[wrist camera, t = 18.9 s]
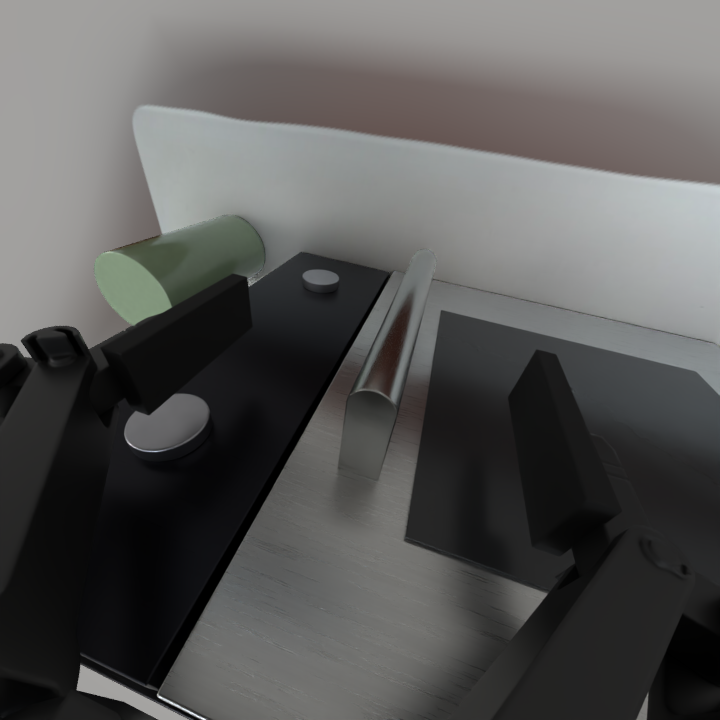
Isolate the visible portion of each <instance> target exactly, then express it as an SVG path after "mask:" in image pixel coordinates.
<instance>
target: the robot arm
mask: <svg viewBox="0 0 720 720" xmlns="http://www.w3.org/2000/svg"><path fill="white" fill-rule="evenodd" d="M252 327H253V324H252V316H251V307H250V298H249V289H248V280H247V277H245V276H241V275H237V274H233V273H232V274H231V275H229V276H227V277H225V278H224V279H222V280H220V281H218V282H216V283H215V284H213V285H211V286H209V287H207V288H206V289H204V290H202V291H200V292H198V293H197V294H195V295H193V296H191V297H190V298H188V299H186V300H184V301H182V302H181V303H179V304H177V305H175V306H173V307H172V308H170V309H168V310H166V311H164V312H163V313H160V314H157V315H154V316H151V317H147V318H145V319H144V320H142V321H140V322H138V323H136V324H135V326H134V325H133V326H131V327H129V328H127V329H126V331H122V332H120V333H118V334H116V335H114V336H113V337H111V338H109V339H107V340H105V341H103V342H102V343H100V344H98V345H96V346H94V347H92V348H91V349H88V347H87V346H86V344H85V342H84V340H83V338H82V336H81V334H80V332H79V331H78V330H77V329H76V328H74V327H69V326H54V327H48V328H44V329H40V330H38V331H34V332H32V333H31V334H28V335H26V336H25V337H24V338H23V339H22V340H21V342H22V343H23V345H24V346H25V348H26V349H27V351H28V352H29V354H30V355H31V357H32V358H27V357H24V356H23V355H22V354H21V352H20V351H19V349H18V348H17V347H16V346H14V345H12V344H3V343H2V344H0V720H157V719H156V718H154V717H152V716H150V715H148V714H146V713H144V712H142V711H140V710H138V709H136V708H134V707H132V706H130V705H129V704H127V703H125V702H122V701H118V700H114V699H109V698H106V697H101V696H97V695H93V694H89V693H85V692H81V691H77V690H76V689H77V683H78V678H79V671H80V662H81V656H80V647H79V643H78V639H77V635H76V627H77V620H78V615H79V610H80V605H81V600H82V595H83V590H84V585H85V580H86V576H87V571H88V566H89V561H90V556H91V551H92V546H93V541H94V536H95V531H96V526H97V522H98V517H99V512H100V507H101V502H102V497H103V492H104V487H105V482H106V477H107V473H108V468H109V463H110V458H111V453H112V448H113V443H114V438H115V433H116V428H117V423H118V419H119V414H120V408H119V406H118V404H117V403H119V402H120V401H121V400H123V399H124V398H126V400H127V402H128V404H129V406H130V408H131V410H134V411H137V412H140V413H143V414H146V415H151V414H152V413H153V412H154V411H155V410H156V409H158V408H159V407H160V406H161V405H162V404H163V403H165V402H166V401H167V400H168V399H169V398H170V397H171V396H173V395H174V394H175V393H176V392H177V391H178V390H180V389H181V388H182V387H183V386H184V385H185V384H187V383H188V382H189V381H190V380H191V379H192V378H194V377H195V376H196V375H197V374H198V373H199V372H201V371H202V370H203V369H204V368H205V367H206V366H208V365H209V364H210V363H211V362H212V361H213V360H215V359H216V358H217V357H218V356H219V355H220V354H222V353H223V352H224V351H225V350H226V349H227V348H229V347H230V346H231V345H232V344H233V343H234V342H235V341H237V340H238V339H239V338H240V337H241V336H242V335H244V334H245V333H246V332H247V331H248V330H249V329H251V328H252ZM508 401H509V407H510V413H511V420H512V426H513V432H514V438H515V445H516V451H517V457H518V463H519V470H520V476H521V482H522V488H523V495H524V501H525V507H526V513H527V520H528V526H529V532H530V538H531V545H532V548H535V549H538V550H541V551H544V552H547V553H550V554H553V555H555V556H558V557H560V556H562V555H563V554H564V553H566V552H567V551H568V550H570V549H571V548H572V552H573V556H574V560H575V564H573V565H572V566H570V567H569V568H567V569H566V570H564V571H563V572H561V573H560V574H558V575H557V576H555V578H556V579H557V580H558V582H557V583H556V584H555V586H554V587H553V588H552V589H551V591H550V592H549V593H548V594H547V596H546V597H545V598H544V599H543V601H542V602H541V603H540V604H539V606H538V607H537V608H536V609H535V611H534V612H533V613H532V614H531V616H530V617H529V618H528V619H527V621H526V622H525V623H524V624H523V626H522V627H521V628H520V629H519V631H518V632H517V633H516V634H515V636H514V637H513V638H512V639H511V641H510V642H509V643H508V644H507V646H506V647H505V648H504V649H503V651H502V652H501V653H500V654H499V656H498V657H497V658H496V659H495V661H494V662H493V663H492V664H491V666H490V667H489V668H488V670H487V671H486V672H485V673H484V675H483V676H482V677H481V678H480V680H479V681H478V682H477V683H476V685H475V686H474V687H473V688H472V690H471V691H470V692H469V693H468V695H467V696H466V697H465V698H464V700H463V701H462V702H461V703H460V705H459V706H458V707H457V708H456V710H455V711H454V712H453V713H452V715H451V716H450V717H449V718H448V720H636V719H637V717H638V715H639V712H640V710H641V708H642V706H643V703H644V701H645V699H646V696H647V694H648V708H647V720H720V585H719V584H718V583H716V582H714V581H712V580H711V579H709V578H707V577H705V576H704V575H702V574H700V573H699V572H697V571H695V570H694V569H693V567H692V565H691V563H690V561H689V560H688V559H687V557H686V556H685V555H684V553H683V552H682V551H681V549H679V548H678V547H677V546H676V545H675V544H674V543H673V542H672V541H671V540H670V539H669V538H667V537H666V536H664V535H663V534H661V533H660V532H658V531H657V530H655V529H653V528H652V526H651V524H650V522H649V520H648V518H647V516H646V514H645V512H644V510H643V508H642V506H641V504H640V501H639V499H638V497H637V495H636V493H635V491H634V489H633V487H632V485H631V483H630V481H628V476H627V474H626V472H625V470H624V469H623V468H622V464H621V462H620V460H619V458H618V456H617V454H616V451H615V450H614V449H613V448H612V447H611V446H610V445H609V443H608V442H607V441H606V440H605V439H604V438H603V437H602V436H599V435H595V434H592V433H589V431H588V428H587V426H586V423H585V421H584V419H583V416H582V414H581V412H580V409H579V407H578V404H577V402H576V400H575V397H574V395H573V393H572V390H571V388H570V385H569V383H568V381H567V378H566V376H565V374H564V371H563V369H562V366H561V364H560V362H559V359H558V357H557V355H556V354H554V353H550V352H546V351H542V350H538V349H536V351H535V353H534V354H533V356H532V358H531V359H530V361H529V363H528V364H527V366H526V368H525V369H524V371H523V373H522V374H521V376H520V378H519V379H518V381H517V383H516V384H515V386H514V388H513V389H512V391H511V393H510V394H509V396H508Z"/></svg>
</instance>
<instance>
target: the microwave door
mask: <svg viewBox="0 0 720 720" xmlns="http://www.w3.org/2000/svg"><path fill="white" fill-rule="evenodd" d="M436 262H437V259H436V256H435V254H434V253H433V252H432V251H431V250H429V249H421V250H419V251H417V252H416V253H415V254H414V256H413V258H412V260H411V262H410V264H409V266H408V269H407V271H406V273H402V272H397V271H394V272H393V273H392V275H391V277H390V279H389V281H388V282H387V284H386V286H385V288H384V290H383V291H382V293H381V295H380V297H379V298H378V300H377V302H376V304H375V306H374V307H373V309H372V311H371V313H370V314H369V316H368V318H367V320H366V322H365V323H364V325H363V327H362V329H361V331H360V332H359V334H358V336H357V338H356V339H355V341H354V343H353V345H352V347H351V348H350V350H349V352H348V354H347V356H346V357H345V359H344V361H343V363H342V364H341V366H340V368H339V370H338V372H337V373H336V375H335V377H334V379H333V380H332V382H331V384H330V386H329V388H328V389H327V391H326V393H325V395H324V397H323V398H322V400H321V402H320V404H319V405H318V407H317V409H316V411H315V413H314V414H313V416H312V418H311V420H310V422H309V423H308V425H307V427H306V429H305V430H304V432H303V434H302V436H301V438H300V439H299V441H298V443H297V445H296V447H295V448H294V450H293V452H292V454H291V455H290V457H289V459H288V461H287V463H286V464H285V466H284V468H283V470H282V471H281V473H280V475H279V477H278V479H277V480H276V482H275V484H274V486H273V488H272V489H271V491H270V493H269V495H268V496H267V498H266V500H265V502H264V504H263V505H262V507H261V509H260V511H259V513H258V514H257V516H256V518H255V520H254V521H253V523H252V525H251V527H250V529H249V530H248V532H247V534H246V536H245V537H244V539H243V541H242V543H241V545H240V546H239V548H238V550H237V552H236V554H235V555H234V557H233V559H232V561H231V562H230V564H229V566H228V568H227V570H226V571H225V573H224V575H223V577H222V579H221V580H220V582H219V584H218V586H217V587H216V589H215V591H214V593H213V595H212V596H211V598H210V600H209V602H208V603H207V605H206V607H205V609H204V611H203V612H202V614H201V616H200V618H199V620H198V621H197V623H196V625H195V627H194V628H193V630H192V632H191V634H190V636H189V637H188V639H187V641H186V643H185V645H184V646H183V648H182V650H181V652H180V653H179V655H178V657H177V659H176V661H175V662H174V664H173V666H172V668H171V669H170V671H169V673H168V675H167V677H166V678H165V680H164V682H163V684H162V686H161V687H160V689H159V691H158V693H157V697H158V698H159V699H161V700H163V701H165V702H167V703H169V704H171V705H173V706H175V707H177V708H179V709H181V710H183V711H185V712H187V713H189V714H191V715H193V716H195V717H197V718H199V719H201V720H448V718H449V717H450V716H451V715H452V713H453V712H454V711H455V710H456V708H457V707H458V706H459V705H460V703H461V702H462V701H463V700H464V698H465V697H466V696H467V695H468V693H469V692H470V691H471V690H472V688H473V687H474V686H475V685H476V683H477V682H478V681H479V680H480V678H481V677H482V676H483V675H484V673H485V672H486V671H487V670H488V668H489V667H490V666H491V664H492V663H493V662H494V661H495V659H496V658H497V657H498V656H499V654H500V653H501V652H502V651H503V649H504V648H505V647H506V646H507V644H508V643H509V642H510V641H511V639H512V638H513V637H514V636H515V634H516V633H517V632H518V631H519V629H520V628H521V627H522V626H523V624H524V623H525V622H526V621H527V619H528V618H529V617H530V616H531V614H532V613H533V612H534V611H535V609H536V608H537V607H538V606H539V604H540V603H541V602H542V601H543V599H544V598H545V597H546V596H547V594H548V593H549V592H550V591H551V589H552V588H553V587H554V586H555V584H556V583H557V582H558V580H557V579H556V578H555V576H557V575H558V574H560V573H561V572H563V571H564V570H566V569H567V568H569V567H570V566H572V565H573V564H575V560H574V556H573V552H572V548H571V549H570V550H568V551H567V552H566V553H564V554H563V555H562V556H560V557H558V556H555V555H553V554H550V553H547V552H544V551H541V550H538V549H535V548H532V545H531V538H530V532H529V526H528V520H527V513H526V507H525V501H524V495H523V488H522V482H521V476H520V470H519V463H518V457H517V451H516V445H515V438H514V432H513V426H512V420H511V413H510V407H509V401H508V396H509V394H510V393H511V391H512V389H513V388H514V386H515V384H516V383H517V381H518V379H519V378H520V376H521V374H522V373H523V371H524V369H525V368H526V366H527V364H528V363H529V361H530V359H531V358H532V356H533V354H534V353H535V351H536V349H538V350H542V351H546V352H550V353H554V354H556V355H557V357H558V359H559V362H560V364H561V366H562V369H563V371H564V374H565V376H566V378H567V381H568V383H569V385H570V388H571V390H572V393H573V395H574V397H575V400H576V402H577V404H578V407H579V409H580V412H581V414H582V416H583V419H584V421H585V423H586V426H587V428H588V431H589V433H592V434H595V435H599V436H602V437H603V438H604V439H605V440H606V441H607V442H608V443H609V445H610V446H611V447H612V448H613V449H614V450H615V451H616V454H617V456H618V458H619V460H620V462H621V464H622V468H623V469H624V470H625V472H626V474H627V476H628V481H630V483H631V485H632V487H633V489H634V491H635V493H636V495H637V497H638V499H639V501H640V504H641V506H642V508H643V510H644V512H645V514H646V516H647V518H648V520H649V522H650V524H651V526H652V528H653V529H655V530H657V531H658V532H660V533H661V534H663V535H664V536H666V537H667V538H669V539H670V540H671V541H672V542H673V543H674V544H675V545H676V546H677V547H678V548H679V549H681V551H682V552H683V553H684V555H685V556H686V557H687V559H688V560H689V561H690V563H691V565H692V567H693V569H694V570H695V571H697V572H699V573H700V574H702V575H704V576H705V577H707V578H709V579H711V580H712V581H714V582H716V583H718V584H719V585H720V347H719V346H718V345H717V344H714V343H710V342H705V341H701V340H696V339H692V338H688V337H683V336H679V335H674V334H670V333H666V332H661V331H657V330H652V329H648V328H644V327H639V326H635V325H630V324H626V323H622V322H617V321H613V320H608V319H604V318H600V317H595V316H591V315H586V314H582V313H578V312H573V311H569V310H564V309H560V308H556V307H551V306H547V305H542V304H538V303H534V302H529V301H525V300H520V299H516V298H512V297H507V296H503V295H498V294H494V293H490V292H485V291H481V290H477V289H472V288H468V287H463V286H459V285H455V284H450V283H446V282H441V281H437V280H433V279H432V278H433V274H434V270H435V266H436ZM647 708H648V694H647V696H646V699H645V701H644V703H643V706H642V708H641V710H640V712H639V715H638V717H637V719H636V720H647Z"/></svg>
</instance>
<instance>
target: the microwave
mask: <svg viewBox="0 0 720 720" xmlns="http://www.w3.org/2000/svg"><path fill="white" fill-rule="evenodd" d="M388 278H389V272H386V271H382V270H377V269H373V268H369V267H364V266H360V265H355V264H351V263H347V262H342V261H338V260H334V259H329V258H325V257H320V256H316V255H312V254H307V253H303V252H300V253H299V254H297V255H296V256H294V257H293V258H291V259H290V260H288V261H287V262H286V263H284V264H283V265H281V266H280V267H278V268H277V269H275V270H274V271H272V272H271V273H269V274H268V275H266V276H265V277H263V278H262V279H260V280H259V281H257V282H256V283H254V284H253V285H251V286H250V287H249V288H248V289H249V298H250V307H251V316H252V324H253V327H252V328H251V329H249V330H248V331H247V332H246V333H245V334H244V335H242V336H241V337H240V338H239V339H238V340H237V341H235V342H234V343H233V344H232V345H231V346H230V347H229V348H227V349H226V350H225V351H224V352H223V353H222V354H220V355H219V356H218V357H217V358H216V359H215V360H213V361H212V362H211V363H210V364H209V365H208V366H206V367H205V368H204V369H203V370H202V371H201V372H199V373H198V374H197V375H196V376H195V377H194V378H192V379H191V380H190V381H189V382H188V383H187V384H185V385H184V386H183V387H182V388H181V389H180V390H178V391H177V392H176V393H175V394H174V395H173V396H171V397H170V398H169V399H168V400H167V401H166V402H165V403H163V404H162V405H161V406H160V407H159V408H158V409H156V410H155V411H154V412H153V413H152V414H151V415H146V414H143V413H140V412H137V411H134V410H131V408H130V406H129V404H128V402H127V400H126V398H124V399H123V400H121V401H120V402H119V403H117V404H118V406H119V408H120V414H119V419H118V423H117V428H116V433H115V438H114V443H113V448H112V453H111V458H110V463H109V468H108V473H107V477H106V482H105V487H104V492H103V497H102V502H101V507H100V512H99V517H98V522H97V526H96V531H95V536H94V541H93V546H92V551H91V556H90V561H89V566H88V571H87V576H86V580H85V585H84V590H83V595H82V600H81V605H80V610H79V615H78V620H77V627H76V635H77V639H78V643H79V647H80V656H81V662H80V664H81V665H83V666H85V667H87V668H89V669H91V670H93V671H95V672H97V673H98V674H101V675H103V676H104V677H106V678H109V679H110V680H112V681H114V682H116V683H118V684H120V685H122V686H124V687H126V688H128V689H130V690H132V691H134V692H136V693H138V694H140V695H142V696H144V697H146V698H148V699H150V700H152V701H154V702H156V703H158V704H160V705H162V706H164V707H166V708H168V709H170V710H172V711H173V712H175V713H177V714H179V715H181V716H183V717H186V718H187V719H189V720H201V719H199V718H197V717H195V716H193V715H191V714H189V713H187V712H185V711H183V710H181V709H179V708H177V707H175V706H173V705H171V704H169V703H167V702H165V701H163V700H161V699H159V698H158V697H157V693H158V691H159V689H160V687H161V686H162V684H163V682H164V680H165V678H166V677H167V675H168V673H169V671H170V669H171V668H172V666H173V664H174V662H175V661H176V659H177V657H178V655H179V653H180V652H181V650H182V648H183V646H184V645H185V643H186V641H187V639H188V637H189V636H190V634H191V632H192V630H193V628H194V627H195V625H196V623H197V621H198V620H199V618H200V616H201V614H202V612H203V611H204V609H205V607H206V605H207V603H208V602H209V600H210V598H211V596H212V595H213V593H214V591H215V589H216V587H217V586H218V584H219V582H220V580H221V579H222V577H223V575H224V573H225V571H226V570H227V568H228V566H229V564H230V562H231V561H232V559H233V557H234V555H235V554H236V552H237V550H238V548H239V546H240V545H241V543H242V541H243V539H244V537H245V536H246V534H247V532H248V530H249V529H250V527H251V525H252V523H253V521H254V520H255V518H256V516H257V514H258V513H259V511H260V509H261V507H262V505H263V504H264V502H265V500H266V498H267V496H268V495H269V493H270V491H271V489H272V488H273V486H274V484H275V482H276V480H277V479H278V477H279V475H280V473H281V471H282V470H283V468H284V466H285V464H286V463H287V461H288V459H289V457H290V455H291V454H292V452H293V450H294V448H295V447H296V445H297V443H298V441H299V439H300V438H301V436H302V434H303V432H304V430H305V429H306V427H307V425H308V423H309V422H310V420H311V418H312V416H313V414H314V413H315V411H316V409H317V407H318V405H319V404H320V402H321V400H322V398H323V397H324V395H325V393H326V391H327V389H328V388H329V386H330V384H331V382H332V380H333V379H334V377H335V375H336V373H337V372H338V370H339V368H340V366H341V364H342V363H343V361H344V359H345V357H346V356H347V354H348V352H349V350H350V348H351V347H352V345H353V343H354V341H355V339H356V338H357V336H358V334H359V332H360V331H361V329H362V327H363V325H364V323H365V322H366V320H367V318H368V316H369V314H370V313H371V311H372V309H373V307H374V306H375V304H376V302H377V300H378V298H379V297H380V295H381V293H382V291H383V290H384V288H385V286H386V284H387V282H388Z"/></svg>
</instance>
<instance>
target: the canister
mask: <svg viewBox="0 0 720 720" xmlns="http://www.w3.org/2000/svg"><path fill="white" fill-rule="evenodd" d="M264 261H265V251H264V247H263V244H262V241H261V239H260V237H259V235H258V233H257V232H256V231H255V229H254V228H253V227H252V226H251V225H250V224H249V223H248V222H246V221H245V220H243V219H242V218H240V217H237V216H234V215H223V216H219V217H216V218H213V219H210V220H206V221H203V222H200V223H197V224H194V225H190V226H187V227H184V228H181V229H178V230H174V231H171V232H168V233H165V234H161V235H158V236H156V237H152V238H149V239H145V240H143V241H139V242H136V243H133V244H130V245H126V246H123V247H120V248H117V249H114V250H110V251H107V252H104V253H102V254H100V255H99V256H98V257H97V259H96V261H95V264H94V274H95V278H96V282H97V284H98V287H99V289H100V290H101V292H102V294H103V296H104V297H105V299H106V300H107V302H108V303H109V304H110V305H111V307H112V308H113V309H114V310H115V311H116V312H117V313H118V314H119V315H120V316H121V317H122V318H123V319H125V320H126V321H127V322H128V323H130V324H131V325H134V326H135V324H136V323H138V322H140V321H142V320H144V319H145V318H147V317H151V316H154V315H157V314H160V313H163V312H164V311H166V310H168V309H170V308H172V307H173V306H175V305H177V304H179V303H181V302H182V301H184V300H186V299H188V298H190V297H191V296H193V295H195V294H197V293H198V292H200V291H202V290H204V289H206V288H207V287H209V286H211V285H213V284H215V283H216V282H218V281H220V280H222V279H224V278H225V277H227V276H229V275H231V274H232V273H233V274H237V275H241V276H245V277H247V280H249V279H250V278H252V277H253V276H255V275H256V274H258V273H259V272H260V271H261V269H262V268H263V265H264Z"/></svg>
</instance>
